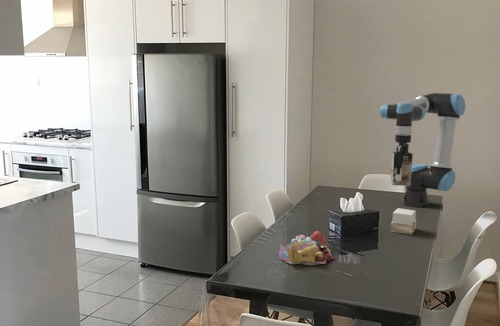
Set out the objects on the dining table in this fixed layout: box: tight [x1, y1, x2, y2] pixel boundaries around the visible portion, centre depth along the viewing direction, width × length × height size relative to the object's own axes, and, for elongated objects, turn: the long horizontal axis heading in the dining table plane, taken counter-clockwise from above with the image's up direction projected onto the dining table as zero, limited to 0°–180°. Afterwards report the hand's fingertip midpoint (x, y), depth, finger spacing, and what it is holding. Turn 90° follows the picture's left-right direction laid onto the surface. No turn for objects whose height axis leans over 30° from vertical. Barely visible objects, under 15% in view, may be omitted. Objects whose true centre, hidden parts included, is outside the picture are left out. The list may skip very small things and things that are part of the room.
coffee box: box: [390, 151, 413, 187], centre depth 265 cm, size 9×6×16 cm
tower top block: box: [391, 207, 417, 225], centre depth 261 cm, size 9×9×5 cm
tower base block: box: [390, 219, 418, 236], centre depth 262 cm, size 10×10×5 cm
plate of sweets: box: [278, 230, 334, 266], centre depth 230 cm, size 25×24×9 cm
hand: (400, 179), depth 266 cm, fingers closed on coffee box, 8 cm apart
